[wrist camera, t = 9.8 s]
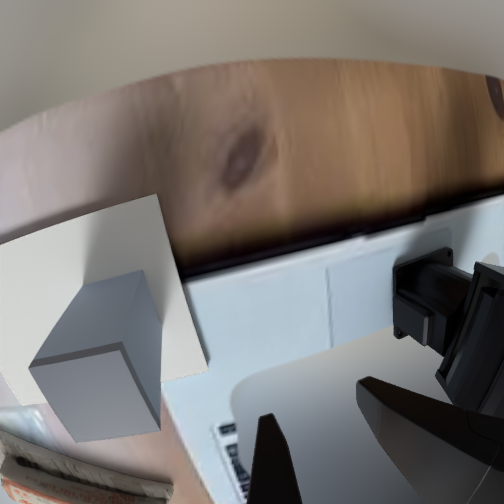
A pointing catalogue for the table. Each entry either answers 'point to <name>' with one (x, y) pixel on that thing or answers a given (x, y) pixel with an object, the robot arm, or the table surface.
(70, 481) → the packaged product
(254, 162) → the table surface
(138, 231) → the mat
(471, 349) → the robot arm
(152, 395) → the block
